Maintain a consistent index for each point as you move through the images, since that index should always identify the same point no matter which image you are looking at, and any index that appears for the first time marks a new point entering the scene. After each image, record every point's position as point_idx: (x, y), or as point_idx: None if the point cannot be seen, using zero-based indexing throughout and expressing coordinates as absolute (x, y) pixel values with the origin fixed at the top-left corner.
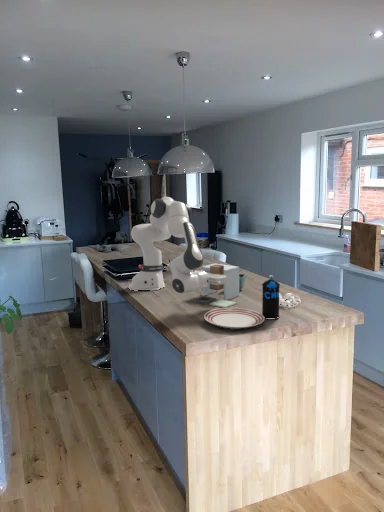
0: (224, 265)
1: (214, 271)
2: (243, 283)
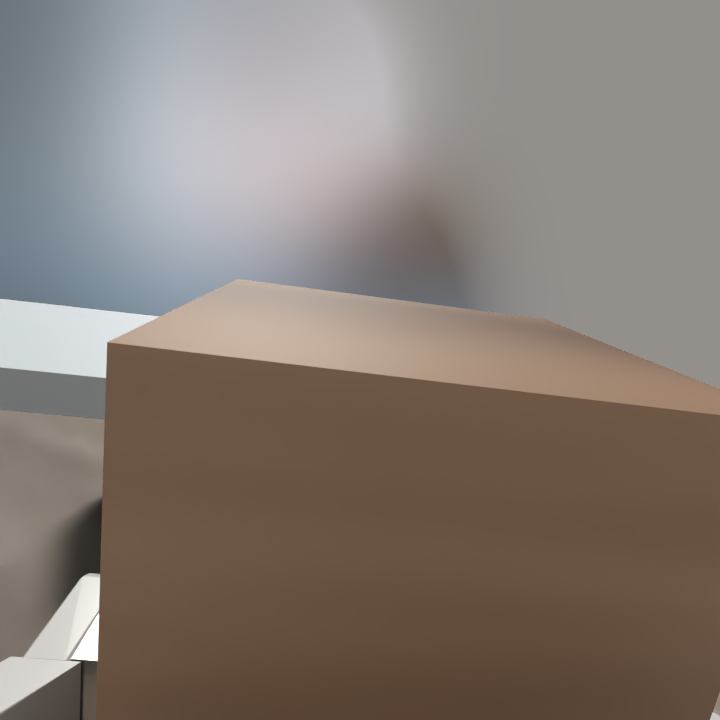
0: (103, 317)
1: (481, 690)
2: None
